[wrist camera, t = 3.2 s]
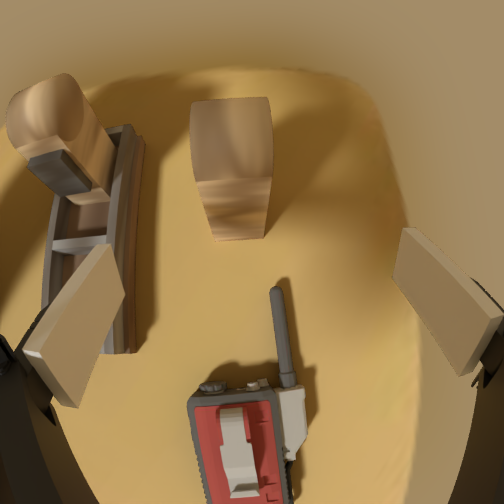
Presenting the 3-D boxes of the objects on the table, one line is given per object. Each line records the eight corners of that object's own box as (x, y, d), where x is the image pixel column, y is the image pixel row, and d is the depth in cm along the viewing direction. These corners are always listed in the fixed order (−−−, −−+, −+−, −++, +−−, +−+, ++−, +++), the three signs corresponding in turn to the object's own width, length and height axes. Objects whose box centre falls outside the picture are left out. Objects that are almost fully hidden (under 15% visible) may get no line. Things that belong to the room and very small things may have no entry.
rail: (60, 348, 22) (-60, 339, 8) (79, 156, 27) (15, 69, 14) (136, 352, 22) (22, 359, 9) (145, 144, 28) (97, 36, 14)
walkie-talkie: (312, 501, 19) (286, 287, 24) (323, 525, 14) (295, 276, 20) (213, 512, 18) (179, 299, 24) (208, 537, 14) (165, 291, 20)
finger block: (215, 241, 25) (187, 155, 13) (213, 180, 26) (193, 75, 14) (263, 238, 25) (276, 149, 13) (257, 177, 26) (264, 70, 14)
